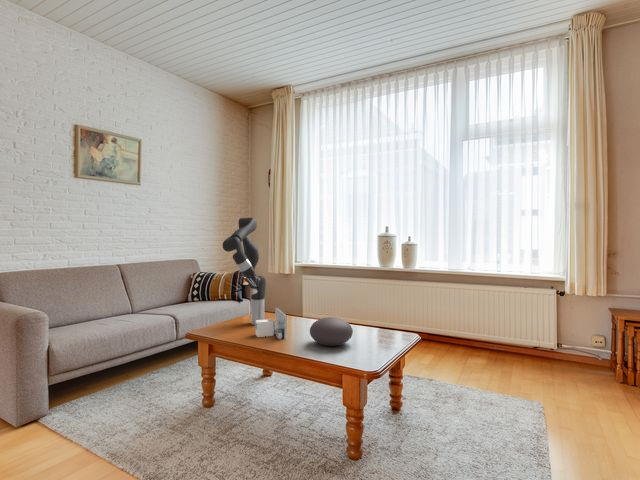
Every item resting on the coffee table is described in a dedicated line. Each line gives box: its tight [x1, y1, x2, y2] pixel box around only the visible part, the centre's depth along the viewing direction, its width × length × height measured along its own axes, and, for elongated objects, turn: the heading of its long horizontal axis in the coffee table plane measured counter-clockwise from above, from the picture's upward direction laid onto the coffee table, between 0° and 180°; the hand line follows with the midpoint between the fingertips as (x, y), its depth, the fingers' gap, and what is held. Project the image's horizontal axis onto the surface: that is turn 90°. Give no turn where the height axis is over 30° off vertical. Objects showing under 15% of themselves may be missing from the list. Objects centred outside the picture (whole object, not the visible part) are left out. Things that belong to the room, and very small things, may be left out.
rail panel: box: [274, 307, 288, 340], centre depth 225 cm, size 24×5×14 cm, turn 20°
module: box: [254, 318, 275, 338], centre depth 222 cm, size 6×10×10 cm, turn 110°
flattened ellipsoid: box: [309, 316, 354, 347], centre depth 205 cm, size 25×25×15 cm
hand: (259, 290), depth 221 cm, fingers closed
